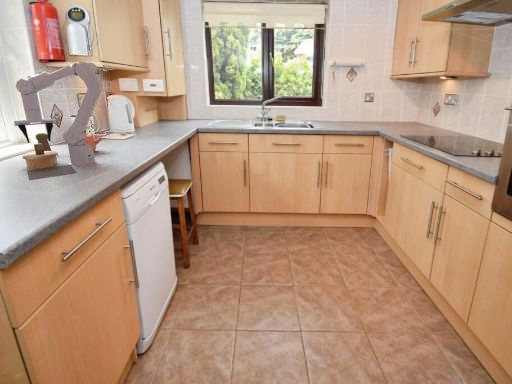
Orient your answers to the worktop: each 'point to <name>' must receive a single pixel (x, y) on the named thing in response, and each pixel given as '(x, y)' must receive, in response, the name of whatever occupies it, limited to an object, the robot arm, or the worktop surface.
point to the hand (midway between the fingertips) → (39, 141)
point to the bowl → (41, 162)
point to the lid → (39, 153)
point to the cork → (43, 141)
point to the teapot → (92, 141)
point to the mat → (50, 172)
